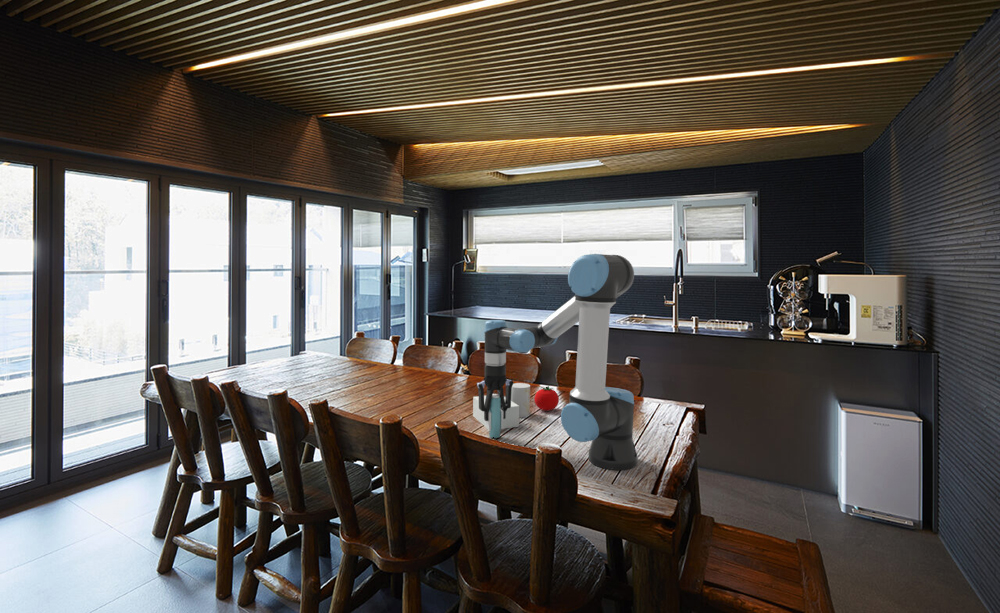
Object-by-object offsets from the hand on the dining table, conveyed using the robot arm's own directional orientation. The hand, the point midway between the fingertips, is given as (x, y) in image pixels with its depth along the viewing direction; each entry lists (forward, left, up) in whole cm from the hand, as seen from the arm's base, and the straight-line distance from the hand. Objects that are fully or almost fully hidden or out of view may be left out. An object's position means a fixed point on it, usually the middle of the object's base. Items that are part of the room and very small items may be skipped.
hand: (494, 428), depth 174 cm
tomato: (+22, -33, -3) cm, 40 cm away
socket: (+16, -7, -3) cm, 18 cm away
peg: (0, 0, -3) cm, 3 cm away
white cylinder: (+21, -20, -3) cm, 29 cm away
